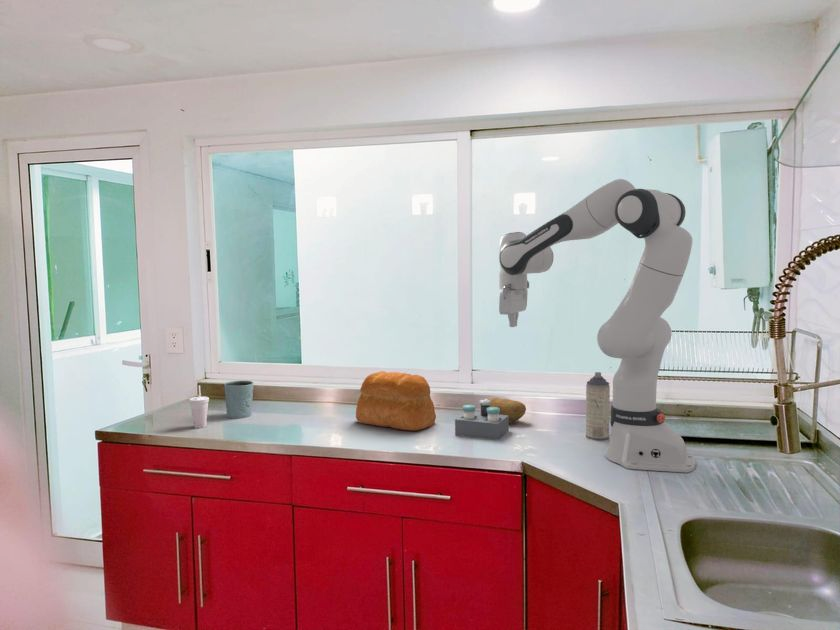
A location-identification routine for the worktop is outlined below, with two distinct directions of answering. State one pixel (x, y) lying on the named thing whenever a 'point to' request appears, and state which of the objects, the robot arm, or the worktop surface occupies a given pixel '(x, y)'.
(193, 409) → the smoothie
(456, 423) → the mount
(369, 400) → the bread
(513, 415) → the potato
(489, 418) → the white bottle teal cap
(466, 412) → the white cylinder
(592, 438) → the aerosol can
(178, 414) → the worktop surface
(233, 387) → the grey cup
